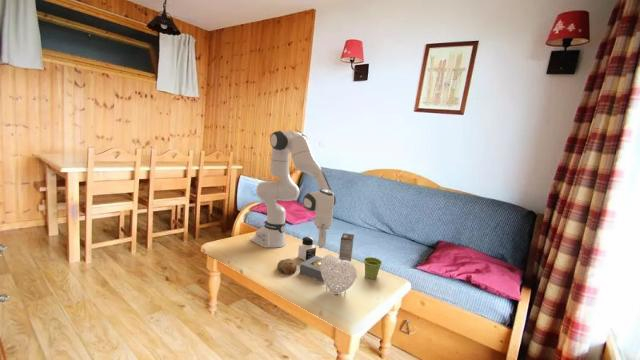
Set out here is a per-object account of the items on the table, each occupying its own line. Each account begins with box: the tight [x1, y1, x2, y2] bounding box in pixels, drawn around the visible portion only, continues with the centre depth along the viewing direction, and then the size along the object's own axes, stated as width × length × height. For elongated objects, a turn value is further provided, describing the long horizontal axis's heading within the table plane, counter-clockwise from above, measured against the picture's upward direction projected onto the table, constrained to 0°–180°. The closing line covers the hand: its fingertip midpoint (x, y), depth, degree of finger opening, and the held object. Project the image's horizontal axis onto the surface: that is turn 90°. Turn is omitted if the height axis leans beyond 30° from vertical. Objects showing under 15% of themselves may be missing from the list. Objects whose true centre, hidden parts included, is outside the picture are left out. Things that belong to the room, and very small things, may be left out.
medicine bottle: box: [297, 236, 317, 262], centre depth 178 cm, size 7×7×12 cm
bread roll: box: [276, 258, 297, 275], centre depth 161 cm, size 10×10×8 cm
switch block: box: [299, 255, 336, 283], centre depth 162 cm, size 14×14×5 cm
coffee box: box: [338, 232, 355, 266], centre depth 175 cm, size 9×6×16 cm
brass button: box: [313, 261, 321, 267], centre depth 162 cm, size 6×6×4 cm
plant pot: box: [363, 256, 383, 280], centre depth 163 cm, size 9×9×9 cm
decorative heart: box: [320, 254, 357, 298], centre depth 142 cm, size 18×11×17 cm, turn 53°
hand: (320, 247), depth 161 cm, fingers closed
